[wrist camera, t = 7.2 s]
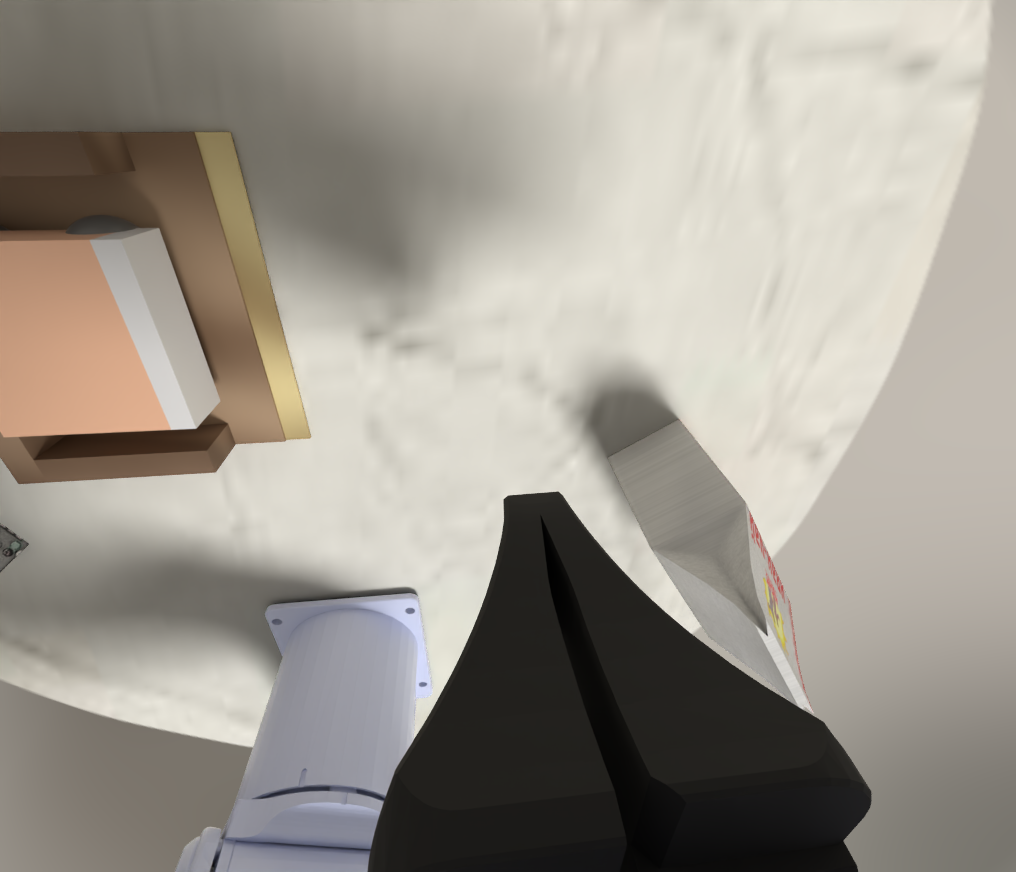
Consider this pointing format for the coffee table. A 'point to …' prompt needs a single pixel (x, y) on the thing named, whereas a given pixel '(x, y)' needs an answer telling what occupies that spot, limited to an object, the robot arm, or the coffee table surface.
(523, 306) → the coffee table surface
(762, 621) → the gable top carton
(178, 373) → the trolley
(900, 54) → the coffee table surface
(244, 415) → the tray
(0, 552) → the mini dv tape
